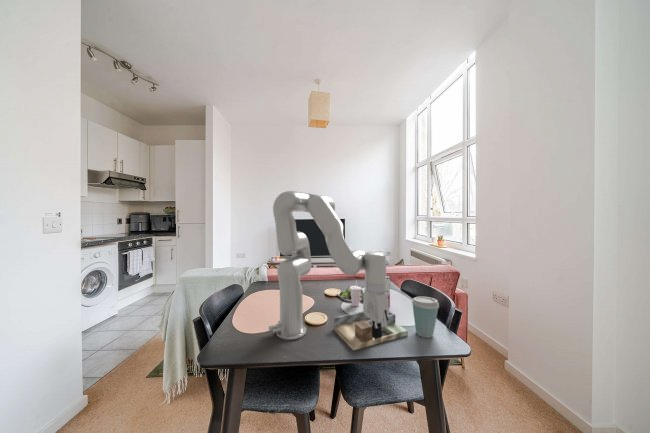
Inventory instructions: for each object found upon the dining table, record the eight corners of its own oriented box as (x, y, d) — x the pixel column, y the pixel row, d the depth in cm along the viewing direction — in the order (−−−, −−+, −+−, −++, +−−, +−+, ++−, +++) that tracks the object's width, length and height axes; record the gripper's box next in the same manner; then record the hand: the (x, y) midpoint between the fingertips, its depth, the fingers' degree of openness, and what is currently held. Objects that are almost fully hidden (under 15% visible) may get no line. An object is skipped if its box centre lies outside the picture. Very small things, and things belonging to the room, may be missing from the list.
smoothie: (358, 308, 124) (358, 282, 124) (347, 305, 128) (347, 280, 128) (363, 304, 130) (363, 279, 130) (352, 301, 133) (352, 277, 133)
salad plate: (376, 301, 135) (376, 293, 135) (348, 306, 128) (348, 298, 128) (359, 290, 153) (359, 283, 153) (334, 294, 146) (334, 287, 146)
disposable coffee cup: (405, 330, 101) (406, 296, 101) (424, 325, 105) (424, 292, 105) (425, 343, 91) (425, 305, 91) (445, 337, 96) (445, 301, 95)
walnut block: (361, 342, 89) (361, 329, 89) (355, 335, 94) (355, 323, 93) (372, 339, 91) (372, 326, 91) (365, 333, 96) (365, 320, 95)
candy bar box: (381, 304, 130) (381, 274, 129) (390, 306, 127) (390, 276, 126) (372, 311, 121) (372, 279, 120) (381, 313, 118) (381, 281, 117)
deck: (353, 350, 87) (353, 335, 87) (333, 329, 102) (333, 316, 102) (407, 335, 97) (407, 322, 97) (382, 318, 113) (382, 306, 113)
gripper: (356, 283, 90) (357, 330, 90) (379, 295, 76) (381, 350, 77) (372, 280, 93) (373, 326, 93) (398, 291, 79) (399, 345, 80)
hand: (376, 337), depth 85 cm, fingers closed
